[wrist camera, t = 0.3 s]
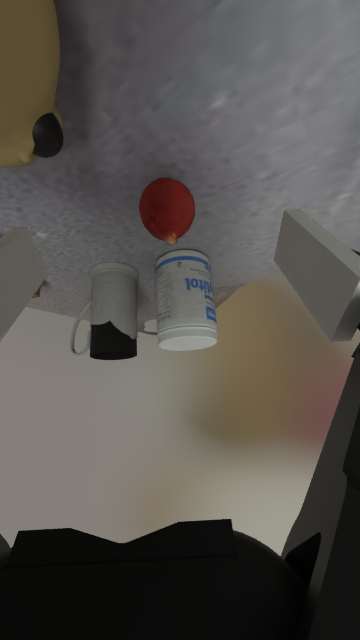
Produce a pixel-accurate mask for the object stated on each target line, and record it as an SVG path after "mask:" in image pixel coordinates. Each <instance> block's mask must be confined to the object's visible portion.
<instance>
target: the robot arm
mask: <svg viewBox="0 0 360 640" xmlns="http://www.w3.org/2000/svg"><path fill="white" fill-rule="evenodd" d="M274 261H275V262H276V263H277V265H278V266H279V268H280V269H281V271H282V272H283V274H284V275H285V277H286V278H287V279H288V281H289V282H290V284H291V285H292V286H293V288H294V290H295V291H296V292H297V294H298V295H299V297H300V298H301V300H302V301H303V303H304V304H305V305H306V307H307V308H308V310H309V311H310V313H311V314H312V316H313V317H314V319H315V320H316V322H317V323H318V325H319V326H320V328H321V329H322V330H323V332H324V333H325V335H326V336H327V337H328V339H329V341H330V342H334V341H350V340H351V339H352V337H353V335H354V333H355V332H356V330H357V328H358V329H359V330H360V252H357V251H355V250H353V249H350V248H349V247H347V246H346V245H345V244H344V243H342V242H341V241H340V240H338V239H337V238H336V237H335V236H333V235H332V234H331V233H330V232H328V231H327V230H326V229H324V228H323V227H322V226H321V225H319V224H318V223H317V222H316V221H314V220H313V219H312V218H310V217H309V216H308V215H307V214H305V213H304V212H303V211H302V210H300V209H290V210H284V214H283V218H282V223H281V228H280V233H279V237H278V242H277V247H276V252H275V257H274ZM47 276H48V272H47V270H46V268H45V266H44V263H43V261H42V259H41V257H40V255H39V252H38V250H37V248H36V246H35V243H34V241H33V239H32V237H31V235H30V232H29V230H28V228H27V227H19V228H12V229H10V230H9V231H8V232H6V233H5V234H4V235H3V236H1V237H0V341H1V340H2V339H3V337H4V336H5V334H6V333H7V332H8V330H9V329H10V327H11V326H12V325H13V323H14V322H15V320H16V319H17V318H18V316H19V315H20V313H21V312H22V311H23V309H24V308H25V306H26V305H27V304H28V302H29V301H30V299H31V298H32V297H33V295H34V294H35V292H36V291H37V290H38V288H39V287H40V285H41V284H42V283H43V281H44V280H45V278H46V277H47ZM352 357H353V358H354V360H353V363H352V366H351V369H350V372H349V374H348V377H347V380H346V383H345V386H344V389H343V392H342V395H341V397H340V400H339V403H338V406H337V409H336V412H335V414H334V418H333V420H332V423H331V426H330V429H329V432H328V434H327V437H326V440H325V443H324V446H323V449H322V452H321V454H320V457H319V460H318V463H317V466H316V469H315V472H314V474H313V478H312V480H311V483H310V486H309V489H308V492H307V494H306V497H305V500H304V503H303V506H302V508H301V511H300V513H299V515H298V517H297V519H296V521H295V523H294V525H293V526H292V529H291V531H290V533H289V535H288V538H287V541H286V543H285V546H284V549H283V551H282V555H281V557H280V556H279V555H278V554H277V553H275V552H274V551H273V550H272V549H270V548H269V547H268V546H266V545H265V544H263V543H261V542H260V541H258V540H257V539H255V538H252V537H250V536H248V535H246V534H244V533H241V532H238V531H234V530H233V529H232V522H231V519H222V520H205V521H204V520H203V521H185V522H177V523H175V524H172V525H170V526H167V527H165V528H163V529H160V530H157V531H155V532H152V533H150V534H147V535H145V536H142V537H140V538H137V539H135V540H132V541H130V542H127V543H116V542H113V541H110V540H107V539H103V538H100V537H97V536H94V535H91V534H88V533H84V532H81V531H78V530H75V529H72V528H63V529H44V530H26V531H18V534H17V536H16V539H15V542H14V545H13V547H12V548H10V547H9V545H8V543H7V541H6V540H5V539H4V538H3V537H2V535H1V534H0V640H360V343H359V345H358V346H357V348H356V350H355V351H354V353H353V355H352Z"/></svg>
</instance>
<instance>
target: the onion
mask: <svg viewBox="0 0 360 640" xmlns="http://www.w3.org/2000/svg"><path fill="white" fill-rule="evenodd" d="M139 210H140V215H141V219H142V222H143V224H144V226H145V228H146V229H147V230H148V231H149V232H150V233H151V234H152V235H153V236H154V237H156V238H158V239H160V240H164V241H166V242H167V243H168V244H175V243H177V239H178V238H180V237H181V236H182V235H184V234H185V233H186V232H187V231H188V230H189V228H190V226H191V224H192V222H193V219H194V216H195V204H194V199H193V196H192V194H191V193H190V191H189V189H188V188H187V187H186V186H185V185H183V184H182V183H181V182H179V181H177V180H174V179H171V178H159V179H157V180H154V181H152V182H151V183H150V184H149V185H148V186H147V187H146V188H145V190H144V191H143V193H142V196H141V199H140V204H139Z"/></svg>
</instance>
